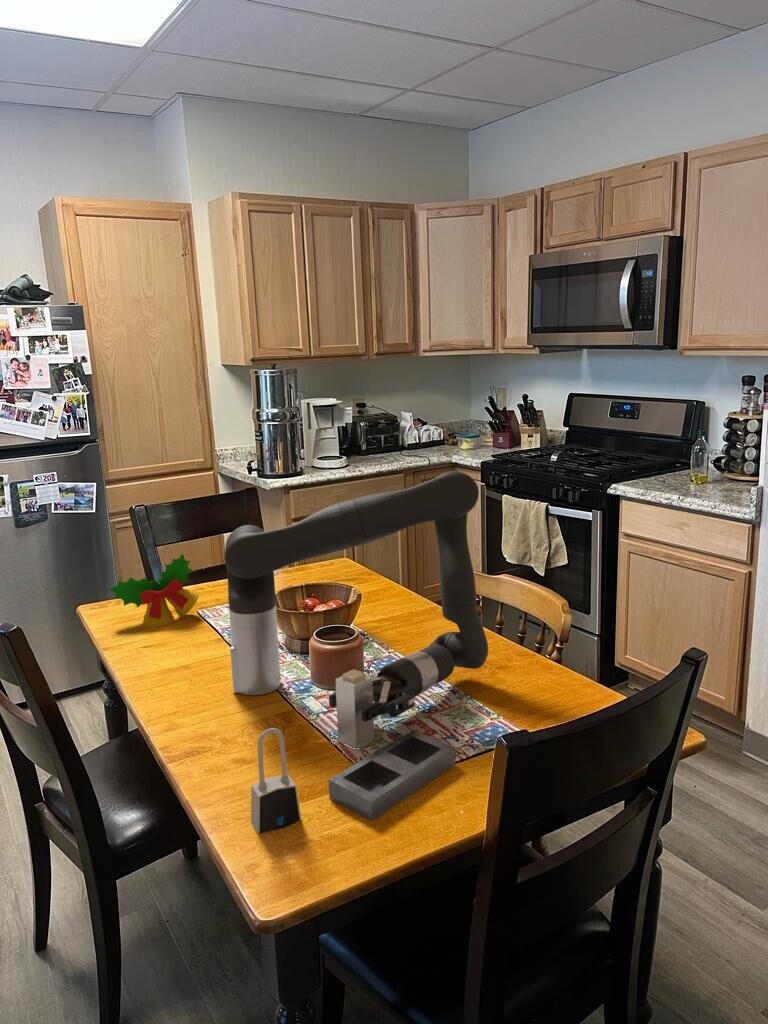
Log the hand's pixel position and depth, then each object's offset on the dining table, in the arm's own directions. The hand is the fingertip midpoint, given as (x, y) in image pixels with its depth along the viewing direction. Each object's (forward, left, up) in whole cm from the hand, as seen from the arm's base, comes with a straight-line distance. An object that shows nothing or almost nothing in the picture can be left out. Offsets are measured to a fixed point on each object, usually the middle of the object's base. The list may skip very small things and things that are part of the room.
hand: (346, 708), depth 134 cm
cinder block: (+7, -12, -7) cm, 15 cm away
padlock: (-11, -21, -7) cm, 24 cm away
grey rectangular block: (+1, +1, -7) cm, 7 cm away
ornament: (-49, +65, -7) cm, 82 cm away
